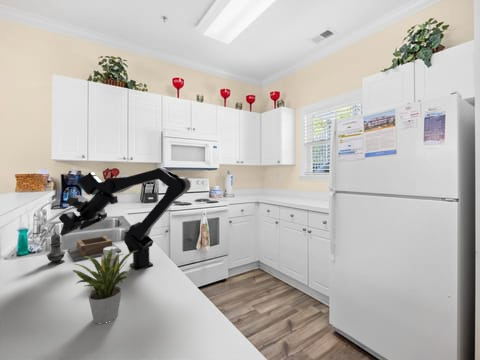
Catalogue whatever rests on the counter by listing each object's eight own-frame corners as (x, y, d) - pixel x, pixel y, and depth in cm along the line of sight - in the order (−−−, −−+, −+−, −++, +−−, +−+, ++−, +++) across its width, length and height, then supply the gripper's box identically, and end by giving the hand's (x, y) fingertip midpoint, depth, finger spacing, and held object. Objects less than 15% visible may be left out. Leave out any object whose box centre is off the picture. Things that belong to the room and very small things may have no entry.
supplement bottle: (117, 278, 80) (117, 249, 80) (99, 280, 79) (99, 251, 78) (120, 271, 86) (120, 244, 85) (103, 273, 84) (103, 246, 84)
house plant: (125, 293, 70) (124, 238, 70) (151, 311, 61) (150, 247, 61) (67, 316, 59) (65, 251, 59) (88, 342, 50) (86, 265, 50)
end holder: (121, 251, 106) (121, 241, 106) (74, 261, 95) (74, 249, 95) (110, 242, 120) (109, 233, 119) (68, 250, 108) (68, 239, 108)
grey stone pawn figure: (57, 265, 91) (56, 234, 90) (42, 265, 91) (41, 234, 91) (69, 260, 97) (68, 230, 96) (54, 260, 97) (53, 230, 96)
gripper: (99, 186, 101) (75, 212, 102) (63, 190, 82) (34, 221, 84) (118, 205, 101) (93, 231, 102) (85, 213, 82) (56, 245, 83)
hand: (71, 231), depth 93 cm, fingers open, 9 cm apart
